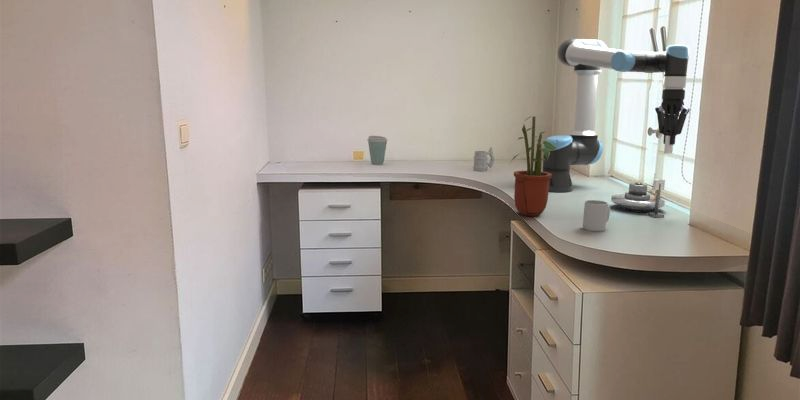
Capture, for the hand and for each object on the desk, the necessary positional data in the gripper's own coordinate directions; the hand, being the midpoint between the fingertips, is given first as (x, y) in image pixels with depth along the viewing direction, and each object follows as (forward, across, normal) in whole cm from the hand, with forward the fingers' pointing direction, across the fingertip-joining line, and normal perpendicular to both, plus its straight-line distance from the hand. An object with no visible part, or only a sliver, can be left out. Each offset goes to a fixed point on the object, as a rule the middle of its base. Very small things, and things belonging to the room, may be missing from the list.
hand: (668, 153), depth 227 cm
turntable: (+19, +7, +7) cm, 21 cm away
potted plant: (+22, +18, +50) cm, 58 cm away
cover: (+18, +7, +7) cm, 20 cm away
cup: (+22, -9, +45) cm, 51 cm away
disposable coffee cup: (+18, +147, +43) cm, 154 cm away
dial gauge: (+22, -5, +11) cm, 25 cm away
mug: (+19, +107, +1) cm, 109 cm away
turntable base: (+22, +7, +7) cm, 23 cm away
